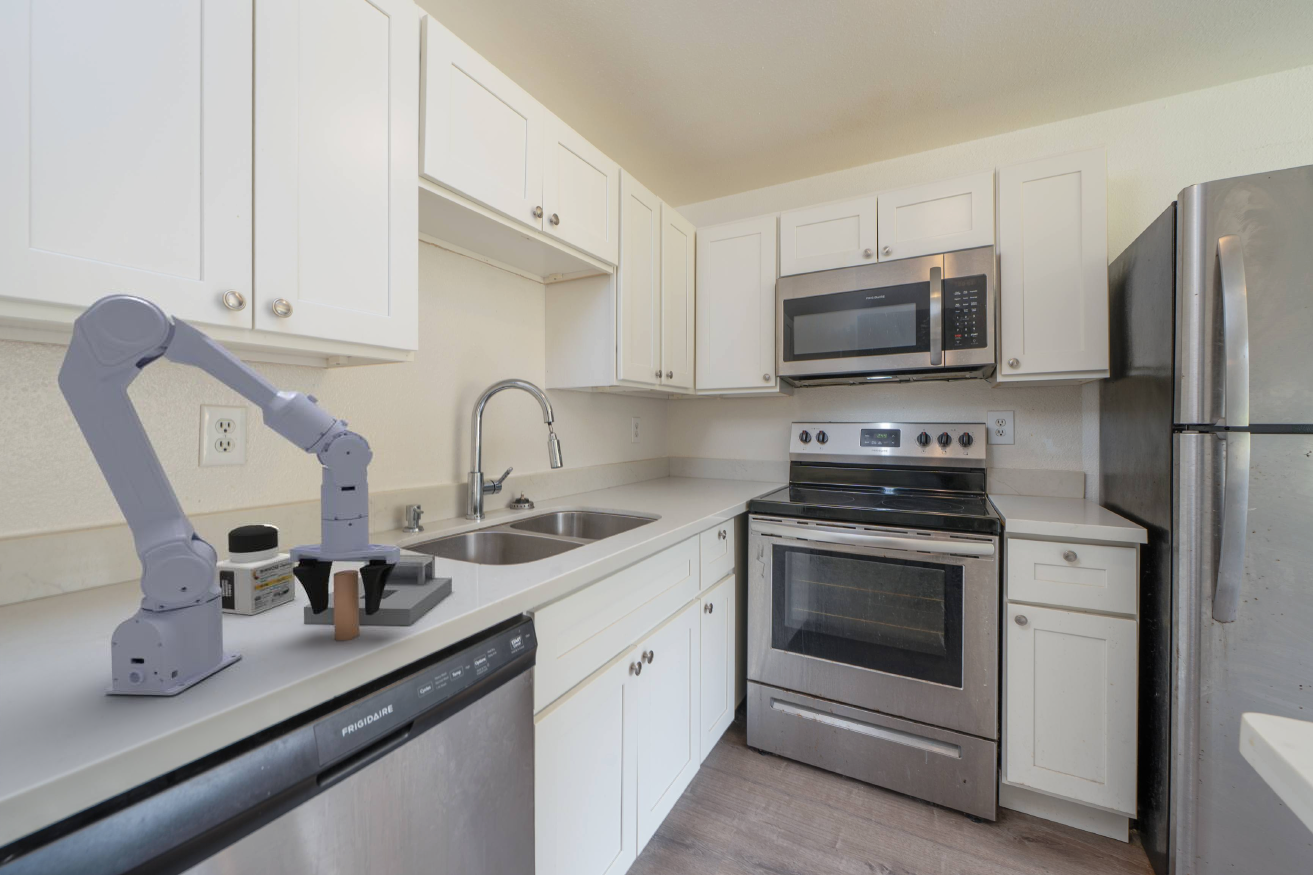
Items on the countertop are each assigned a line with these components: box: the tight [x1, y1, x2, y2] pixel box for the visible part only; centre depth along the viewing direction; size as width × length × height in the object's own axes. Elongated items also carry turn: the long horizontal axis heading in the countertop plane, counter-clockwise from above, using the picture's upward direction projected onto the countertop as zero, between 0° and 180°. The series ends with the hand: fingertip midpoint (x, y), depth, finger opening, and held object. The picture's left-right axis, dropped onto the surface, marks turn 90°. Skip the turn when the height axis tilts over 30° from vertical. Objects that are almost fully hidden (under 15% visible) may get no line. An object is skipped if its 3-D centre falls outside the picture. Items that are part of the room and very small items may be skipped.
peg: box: [333, 569, 360, 642], centre depth 73 cm, size 3×3×9 cm
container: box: [214, 523, 296, 616], centre depth 85 cm, size 8×8×13 cm
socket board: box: [303, 576, 453, 626], centre depth 85 cm, size 15×16×2 cm
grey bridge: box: [363, 554, 436, 586], centre depth 90 cm, size 4×10×4 cm, turn 89°
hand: (346, 612), depth 73 cm, fingers open, 7 cm apart
